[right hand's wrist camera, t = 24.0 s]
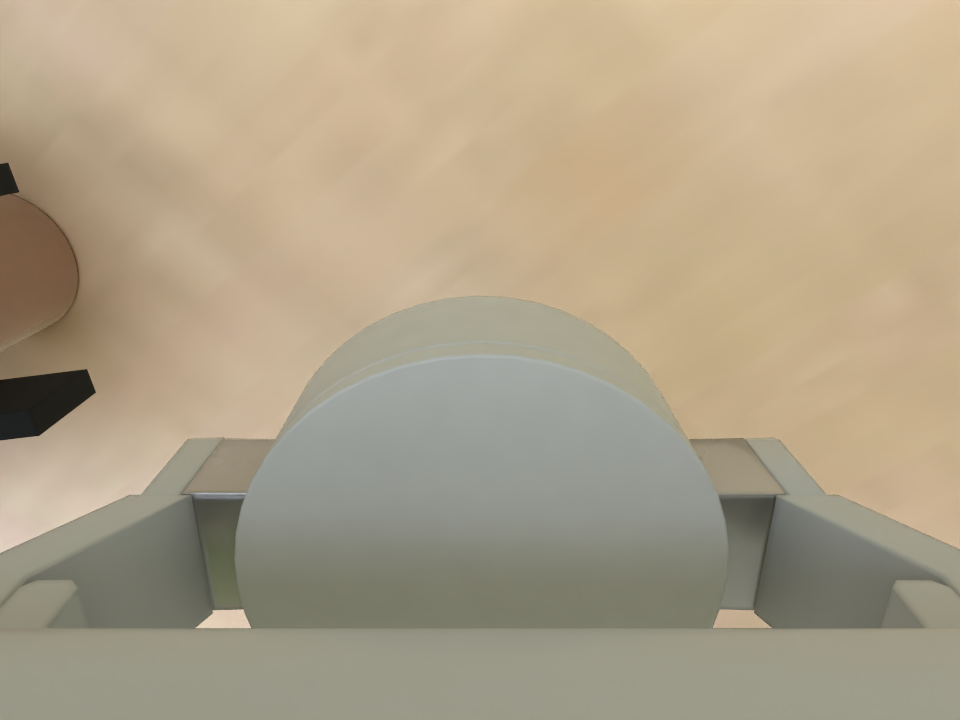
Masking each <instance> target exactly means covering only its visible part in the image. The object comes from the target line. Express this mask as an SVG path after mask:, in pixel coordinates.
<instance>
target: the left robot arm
mask: <svg viewBox="0 0 960 720" xmlns="http://www.w3.org/2000/svg"><path fill="white" fill-rule="evenodd" d="M17 192H19V190H18V188H17V185H16V182H15V180H14V177H13V174H12V172H11V169H10V167H9V164H8V163H4V164H0V196H3V195H8V194H12V193H17ZM94 393H96V392H95V389H94V387H93V384H92V381H91V379H90V376H89V373H88V371H87V369H85V370H77V371H69V372H61V373H53V374H45V375H37V376H29V377H21V378H13V379H5V380H0V440H7V439H15V438H24V437H32V436H39V435H41V434H42V433H43V432H45V431H46V430H47V429H48V428H50V427H51V426H52V425H54V424H55V423H56V422H58V421H59V420H60V419H62V418H63V417H64V416H66V415H67V414H68V413H69V412H71V411H72V410H73V409H75V408H76V407H77V406H79V405H80V404H81V403H83V402H84V401H85V400H86V399H88V398H89V397H90V396H92V395H93V394H94Z"/></svg>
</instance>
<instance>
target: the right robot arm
mask: <svg viewBox="0 0 960 720" xmlns="http://www.w3.org/2000/svg"><path fill="white" fill-rule="evenodd" d="M274 441H275V439H232V438H228V439H225V438H194V439H188V440H187V441H186V442H185V443H184V444H183V445H182V446H181V448H180V449H179V450H178V451H177V452H176V454H175V455H174V456H173V457H172V458H171V460H170V461H169V462H168V463H167V464H166V465H165V467H164V468H163V469H162V470H161V471H160V473H159V474H158V475H157V476H156V477H155V479H154V480H153V481H152V482H151V483H150V484H149V486H148V487H147V488H146V489H145V490H144V492H143V493H142V494H141V495H129V496H126V497H124V498H122V499H120V500H117V501H115V502H113V503H111V504H109V505H106V506H104V507H102V508H100V509H97V510H95V511H93V512H91V513H89V514H86V515H84V516H82V517H80V518H77V519H75V520H73V521H71V522H69V523H66V524H64V525H62V526H60V527H57V528H55V529H53V530H51V531H49V532H46V533H44V534H42V535H40V536H37V537H35V538H33V539H31V540H29V541H26V542H24V543H22V544H20V545H18V546H15V547H13V548H11V549H9V550H6V551H4V552H2V553H0V720H960V549H958V548H955V547H953V546H951V545H949V544H946V543H944V542H942V541H940V540H937V539H935V538H933V537H931V536H929V535H926V534H924V533H922V532H920V531H917V530H915V529H913V528H911V527H908V526H906V525H904V524H902V523H899V522H897V521H895V520H893V519H890V518H888V517H886V516H884V515H882V514H879V513H877V512H875V511H873V510H870V509H868V508H866V507H864V506H861V505H859V504H857V503H855V502H852V501H850V500H848V499H846V498H844V497H841V496H839V495H826V493H825V492H824V491H823V490H822V489H821V488H820V486H819V485H818V484H817V483H816V482H815V481H814V479H813V478H812V477H811V476H810V475H809V474H808V472H807V471H806V470H805V469H804V468H803V467H802V466H801V464H800V463H799V462H798V461H797V460H796V459H795V457H794V456H793V455H792V454H791V453H790V452H789V450H788V449H787V448H786V447H785V446H784V445H783V443H782V442H781V441H780V440H778V439H775V438H750V439H743V438H727V439H689V441H690V443H691V445H692V446H693V448H694V450H695V451H696V453H697V455H698V457H699V458H700V460H701V461H702V463H703V465H704V466H705V468H706V470H707V472H708V474H709V476H710V478H711V481H712V483H713V485H714V487H715V489H716V491H717V494H718V496H719V499H720V503H721V506H722V510H723V514H724V517H725V521H726V527H727V536H728V545H729V558H728V576H727V581H726V586H725V591H724V595H723V600H722V604H721V607H720V609H733V610H755V611H754V613H755V614H756V615H757V616H759V617H760V618H761V619H762V620H763V621H765V622H766V623H767V624H768V625H769V626H771V627H772V628H196V627H197V626H198V625H199V624H200V623H202V622H203V621H204V620H205V619H206V618H208V617H209V616H210V615H211V614H212V613H213V612H212V610H233V609H243V605H242V602H241V598H240V594H239V591H238V586H237V578H236V569H235V561H234V559H235V537H236V530H237V525H238V520H239V515H240V511H241V506H242V504H243V501H244V499H245V496H246V493H247V491H248V488H249V486H250V483H251V481H252V479H253V477H254V475H255V474H256V472H257V470H258V468H259V467H260V465H261V463H262V462H263V460H264V458H265V456H266V455H267V453H268V451H269V450H270V448H271V446H272V444H273V443H274Z"/></svg>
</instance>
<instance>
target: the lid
mask: <svg viewBox="0 0 960 720" xmlns="http://www.w3.org/2000/svg"><path fill="white" fill-rule="evenodd" d="M728 558H729V545H728V536H727V527H726V521H725V517H724V514H723V510H722V506H721V503H720V499H719V496H718V494H717V491H716V489H715V487H714V485H713V483H712V481H711V478H710V476H709V474H708V472H707V470H706V468H705V466H704V465H703V463H702V461H701V460H700V458H699V457H698V455H697V453H696V451H695V450H694V448H693V446H692V445H691V443H690V441H689V439H688V438H687V436H686V434H685V433H684V431H683V429H682V428H681V426H680V424H679V423H678V421H677V419H676V417H675V416H674V414H673V412H672V411H671V409H670V407H669V406H668V404H667V402H666V401H665V399H664V397H663V396H662V394H661V392H660V391H659V389H658V388H657V386H656V385H655V383H654V382H653V380H652V379H651V377H650V376H649V374H648V373H647V371H646V370H645V369H644V368H643V367H642V366H641V365H640V364H639V363H638V362H637V360H636V359H635V358H634V357H633V356H632V355H631V354H630V353H629V352H628V351H627V350H626V349H624V348H623V347H622V346H621V345H620V344H618V343H617V342H616V341H615V340H614V339H612V338H611V337H610V336H609V335H607V334H605V333H604V332H602V331H601V330H599V329H597V328H596V327H594V326H592V325H591V324H589V323H588V322H586V321H584V320H582V319H579V318H577V317H575V316H573V315H570V314H568V313H566V312H564V311H561V310H559V309H555V308H552V307H549V306H545V305H542V304H539V303H535V302H531V301H525V300H519V299H513V298H507V297H487V296H471V297H460V298H448V299H443V300H438V301H434V302H429V303H424V304H420V305H417V306H414V307H411V308H408V309H405V310H403V311H400V312H397V313H394V314H392V315H390V316H388V317H386V318H384V319H382V320H380V321H378V322H376V323H374V324H372V325H370V326H368V327H366V328H365V329H364V330H362V331H361V332H359V333H358V334H356V335H355V336H354V337H352V338H351V339H349V340H348V341H346V342H345V343H344V344H343V345H342V346H341V347H340V348H339V349H337V350H336V351H335V352H334V353H333V354H332V355H331V356H330V357H329V358H328V359H327V360H326V361H325V362H324V363H323V364H322V366H321V367H320V368H319V369H318V371H317V372H316V373H315V374H314V376H313V377H312V378H311V379H310V381H309V382H308V384H307V386H306V388H305V389H304V391H303V393H302V394H301V396H300V398H299V399H298V401H297V403H296V405H295V406H294V408H293V410H292V412H291V413H290V415H289V417H288V418H287V420H286V422H285V424H284V425H283V427H282V429H281V431H280V432H279V434H278V436H277V437H276V439H275V441H274V443H273V444H272V446H271V448H270V450H269V451H268V453H267V455H266V456H265V458H264V460H263V462H262V463H261V465H260V467H259V468H258V470H257V472H256V474H255V475H254V477H253V479H252V481H251V483H250V486H249V488H248V491H247V493H246V496H245V499H244V501H243V504H242V506H241V511H240V515H239V520H238V525H237V530H236V537H235V559H234V561H235V569H236V578H237V586H238V591H239V594H240V598H241V602H242V605H243V609H244V612H245V615H246V617H247V619H248V622H249V624H250V626H251V628H712V627H713V625H714V622H715V620H716V617H717V614H718V612H719V609H720V607H721V604H722V600H723V595H724V591H725V586H726V581H727V576H728Z"/></svg>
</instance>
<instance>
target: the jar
mask: <svg viewBox="0 0 960 720" xmlns="http://www.w3.org/2000/svg"><path fill="white" fill-rule="evenodd" d="M77 285H78V271H77V264H76V261H75V257H74V254H73V252H72V249H71V247H70V245H69V243H68V241H67V239H66V238H65V236H64V235H63V233H62V232H61V230H60V229H59V228H58V227H57V225H56V224H55V223H54V222H53V221H52V220H51V219H50V218H49V217H48V216H47V215H46V214H45V213H43V212H42V211H41V210H40V209H38V208H37V207H35V206H34V205H32V204H30V203H29V202H27V201H25V200H23V199H21V198H19V197H16V196H13V195H11V194H8V195H3V196H0V352H2V351H3V350H5V349H7V348H9V347H11V346H13V345H15V344H17V343H18V342H20V341H22V340H24V339H26V338H28V337H30V336H32V335H33V334H35V333H37V332H39V331H41V330H43V329H45V328H46V327H48V326H50V325H52V324H54V323H55V322H57V321H58V320H60V319H61V318H62V317H63V316H64V315H65V314H66V313H67V311H68V310H69V308H70V307H71V305H72V303H73V301H74V298H75V295H76V292H77Z"/></svg>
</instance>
